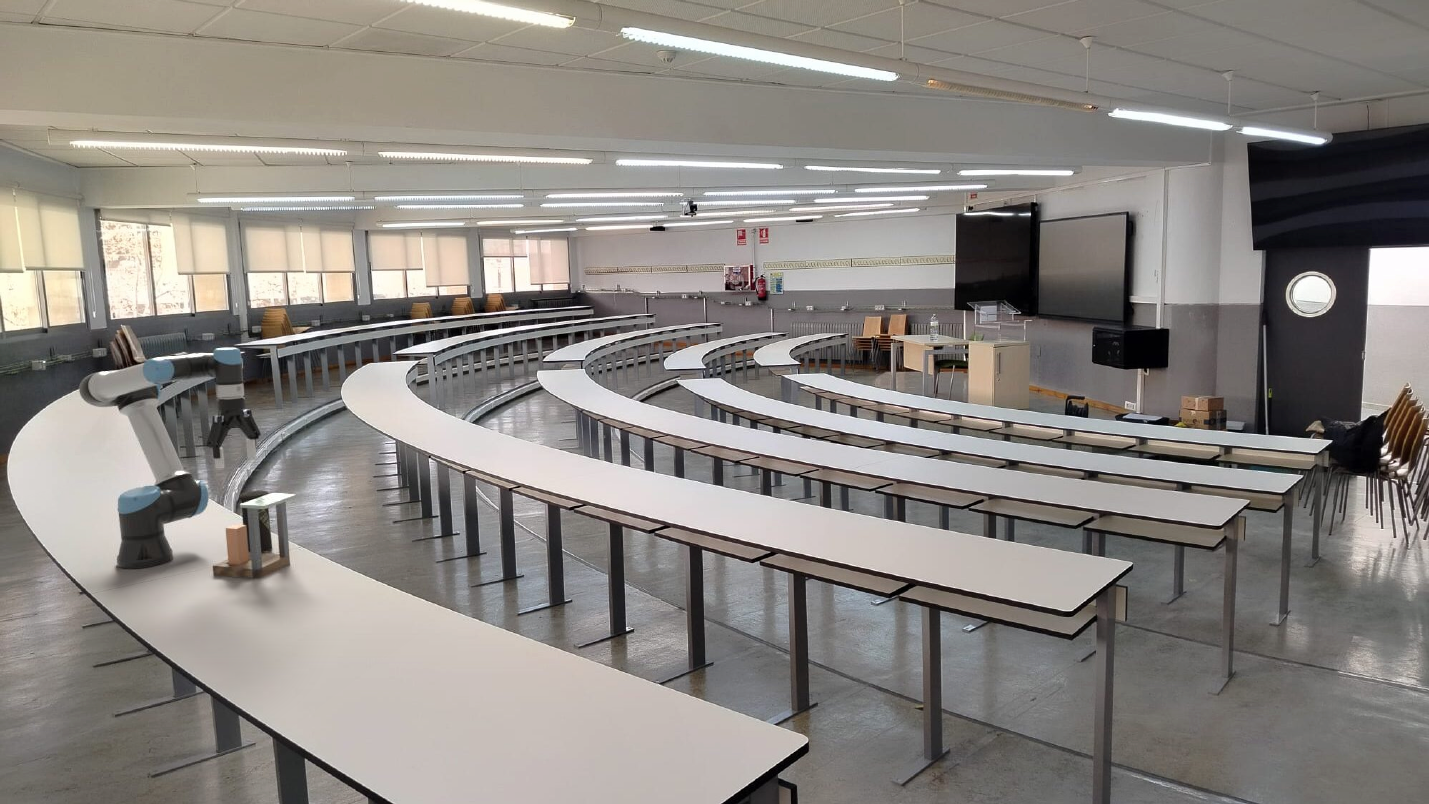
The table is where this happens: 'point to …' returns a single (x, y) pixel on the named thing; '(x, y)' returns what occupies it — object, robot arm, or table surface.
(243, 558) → the peg
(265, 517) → the container
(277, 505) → the white topped stool
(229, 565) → the socket board
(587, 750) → the table surface
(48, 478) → the table surface
